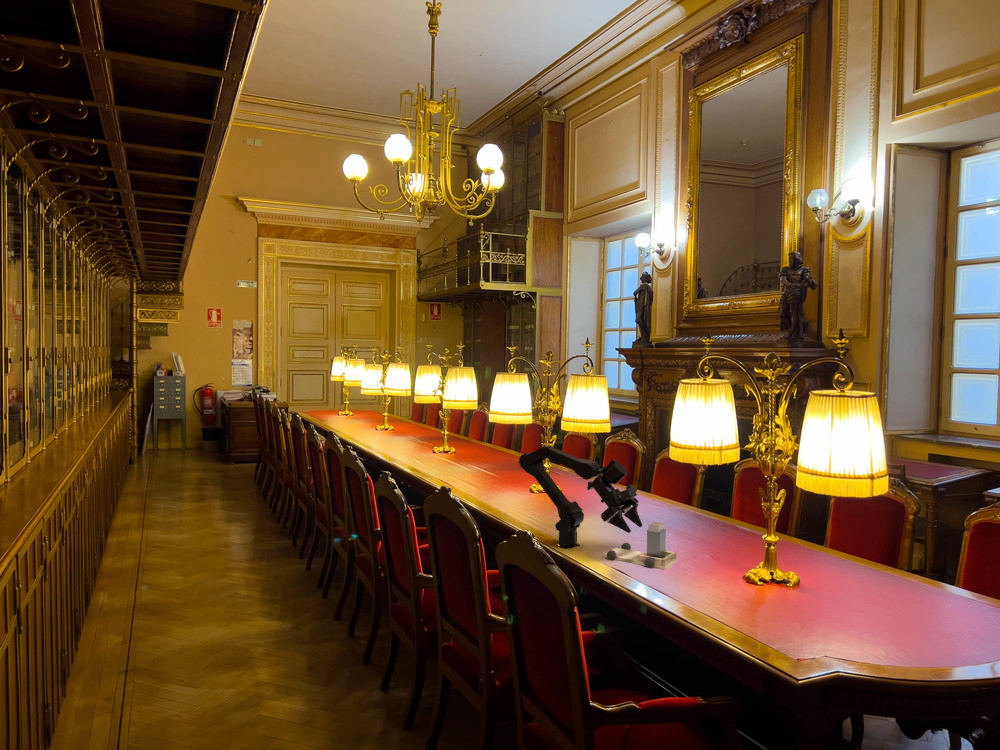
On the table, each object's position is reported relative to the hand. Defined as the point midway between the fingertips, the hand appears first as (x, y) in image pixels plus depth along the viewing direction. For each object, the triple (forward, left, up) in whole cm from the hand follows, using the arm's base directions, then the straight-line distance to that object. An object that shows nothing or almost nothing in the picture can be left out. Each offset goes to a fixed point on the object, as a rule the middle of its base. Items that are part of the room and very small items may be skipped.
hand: (635, 529), depth 229 cm
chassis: (0, -1, -10) cm, 10 cm away
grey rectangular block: (+1, -7, -9) cm, 12 cm away
